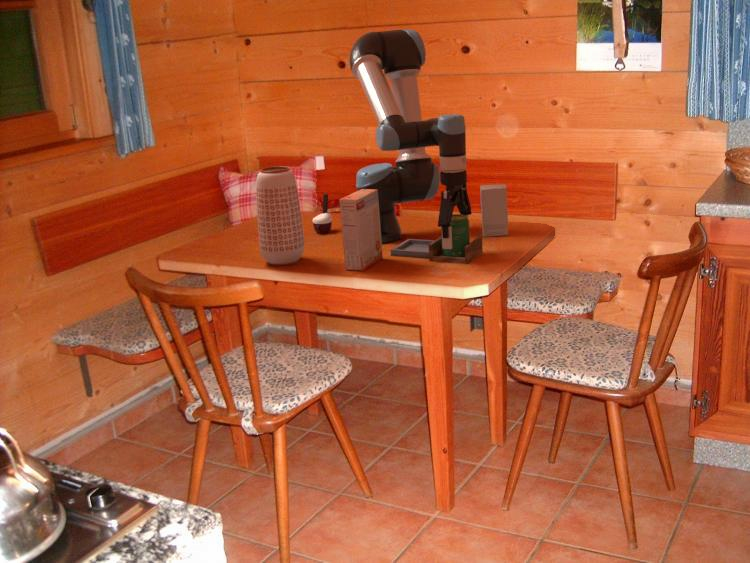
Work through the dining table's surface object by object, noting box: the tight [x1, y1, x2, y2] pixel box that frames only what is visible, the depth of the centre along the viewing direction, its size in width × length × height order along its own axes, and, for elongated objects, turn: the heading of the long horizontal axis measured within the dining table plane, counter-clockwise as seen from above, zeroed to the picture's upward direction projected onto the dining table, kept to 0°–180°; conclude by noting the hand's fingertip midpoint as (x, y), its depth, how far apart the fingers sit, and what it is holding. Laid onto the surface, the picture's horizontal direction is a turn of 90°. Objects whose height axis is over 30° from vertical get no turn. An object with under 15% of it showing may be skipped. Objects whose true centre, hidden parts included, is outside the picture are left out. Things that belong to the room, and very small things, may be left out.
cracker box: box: [338, 189, 384, 272], centre depth 247 cm, size 14×6×21 cm, turn 154°
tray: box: [390, 238, 435, 259], centre depth 259 cm, size 13×13×2 cm
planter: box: [255, 165, 306, 267], centre depth 253 cm, size 13×13×28 cm
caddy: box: [428, 235, 484, 265], centre depth 250 cm, size 12×12×5 cm
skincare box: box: [479, 183, 509, 238], centre depth 271 cm, size 8×7×16 cm
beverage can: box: [441, 213, 471, 258], centre depth 249 cm, size 8×8×12 cm
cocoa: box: [312, 193, 333, 235], centre depth 288 cm, size 10×6×12 cm, turn 139°
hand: (456, 242), depth 250 cm, fingers open, 13 cm apart
